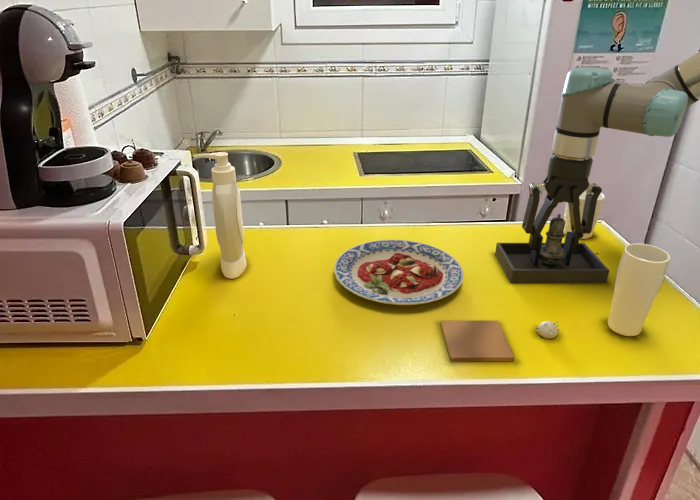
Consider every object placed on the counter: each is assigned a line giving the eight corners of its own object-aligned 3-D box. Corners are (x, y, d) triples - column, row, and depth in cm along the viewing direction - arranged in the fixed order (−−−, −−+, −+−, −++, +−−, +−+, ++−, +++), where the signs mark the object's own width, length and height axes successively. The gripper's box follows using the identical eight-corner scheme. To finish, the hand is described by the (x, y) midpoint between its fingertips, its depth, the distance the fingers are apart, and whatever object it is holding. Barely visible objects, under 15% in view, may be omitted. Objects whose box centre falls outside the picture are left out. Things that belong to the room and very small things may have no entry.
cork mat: (497, 324, 91) (497, 320, 91) (513, 361, 82) (514, 357, 82) (440, 324, 91) (440, 320, 90) (450, 361, 82) (451, 357, 82)
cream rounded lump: (562, 338, 87) (565, 325, 86) (539, 340, 87) (542, 327, 86) (552, 327, 90) (555, 315, 89) (531, 329, 90) (533, 316, 89)
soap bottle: (212, 253, 113) (197, 144, 102) (248, 252, 114) (237, 143, 103) (205, 284, 102) (188, 165, 91) (245, 282, 103) (233, 163, 91)
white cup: (555, 225, 128) (563, 187, 123) (587, 226, 128) (597, 188, 123) (565, 239, 121) (574, 199, 116) (600, 240, 121) (610, 200, 116)
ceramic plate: (405, 238, 121) (406, 226, 119) (490, 286, 102) (492, 273, 101) (310, 268, 108) (309, 255, 106) (386, 330, 89) (387, 316, 88)
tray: (581, 254, 114) (584, 242, 113) (606, 283, 104) (609, 270, 102) (494, 254, 114) (496, 242, 113) (510, 283, 103) (513, 270, 102)
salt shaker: (567, 273, 106) (580, 219, 101) (539, 273, 106) (550, 219, 101) (557, 259, 111) (568, 208, 106) (529, 259, 111) (539, 207, 106)
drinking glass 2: (608, 338, 88) (632, 260, 81) (597, 315, 93) (618, 241, 87) (651, 342, 87) (678, 264, 80) (637, 319, 93) (661, 244, 86)
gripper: (612, 149, 101) (586, 254, 112) (516, 148, 101) (499, 253, 112) (631, 161, 94) (602, 271, 105) (528, 160, 94) (509, 271, 105)
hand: (549, 262), depth 108 cm, fingers closed on salt shaker, 6 cm apart
